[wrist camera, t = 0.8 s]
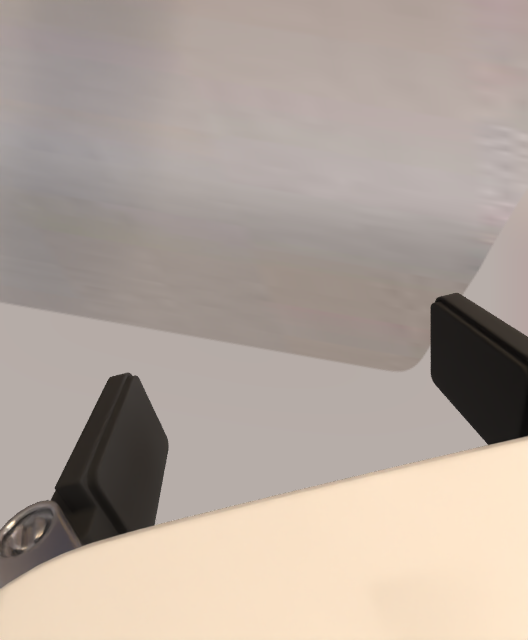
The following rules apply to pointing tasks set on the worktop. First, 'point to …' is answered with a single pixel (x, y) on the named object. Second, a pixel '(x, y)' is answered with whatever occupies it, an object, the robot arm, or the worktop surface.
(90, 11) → the worktop surface
